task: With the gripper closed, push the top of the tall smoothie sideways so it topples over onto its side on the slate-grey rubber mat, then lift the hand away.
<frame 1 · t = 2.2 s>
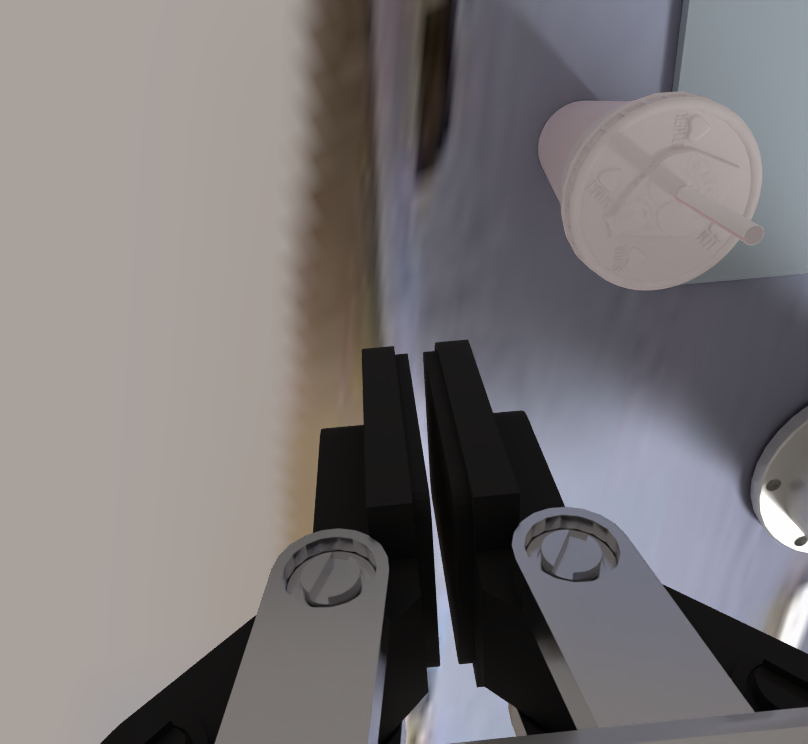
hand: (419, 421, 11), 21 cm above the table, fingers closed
smoothie: (577, 143, 30), on the table
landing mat: (807, 126, 30), on the table
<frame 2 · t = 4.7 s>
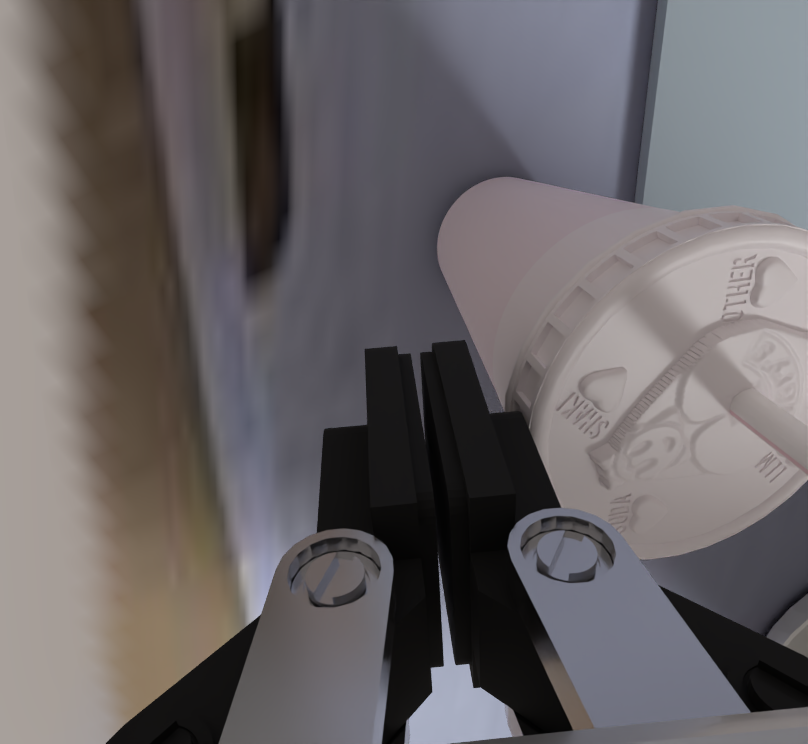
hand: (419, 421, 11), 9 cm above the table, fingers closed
smoothie: (496, 240, 19), on the table, touching gripper
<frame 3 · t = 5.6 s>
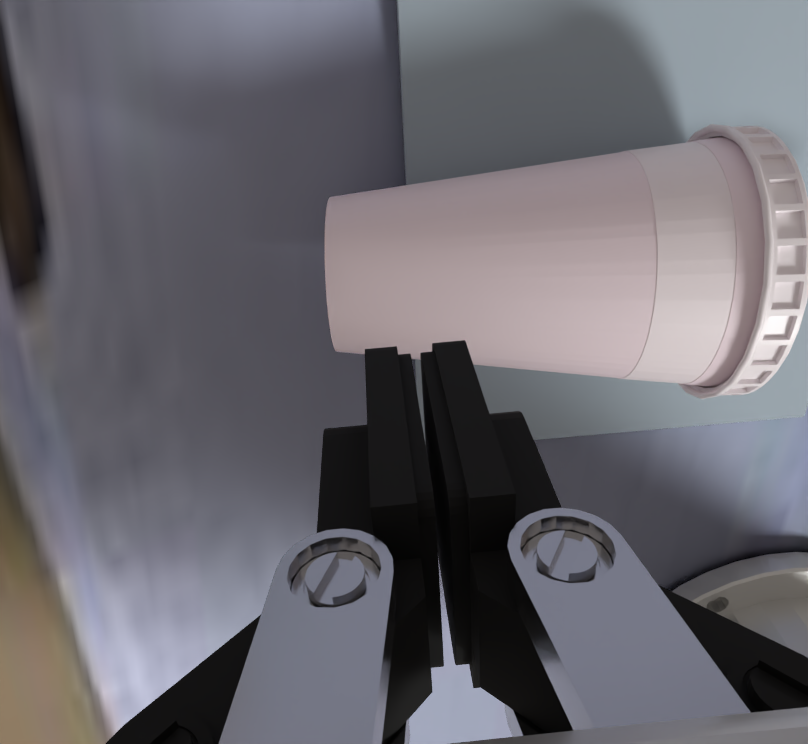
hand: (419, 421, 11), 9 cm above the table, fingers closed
smoothie: (326, 276, 16), point 3 cm above the table, touching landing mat
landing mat: (632, 222, 19), on the table
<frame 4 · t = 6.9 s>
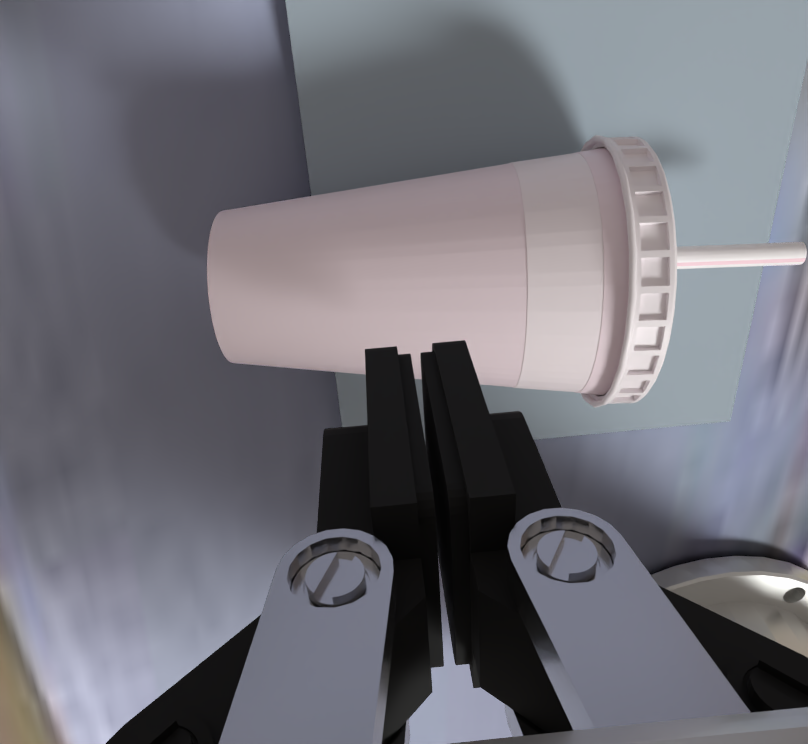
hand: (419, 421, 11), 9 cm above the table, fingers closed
smoothie: (222, 288, 16), point 3 cm above the table, touching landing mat
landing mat: (543, 230, 19), on the table
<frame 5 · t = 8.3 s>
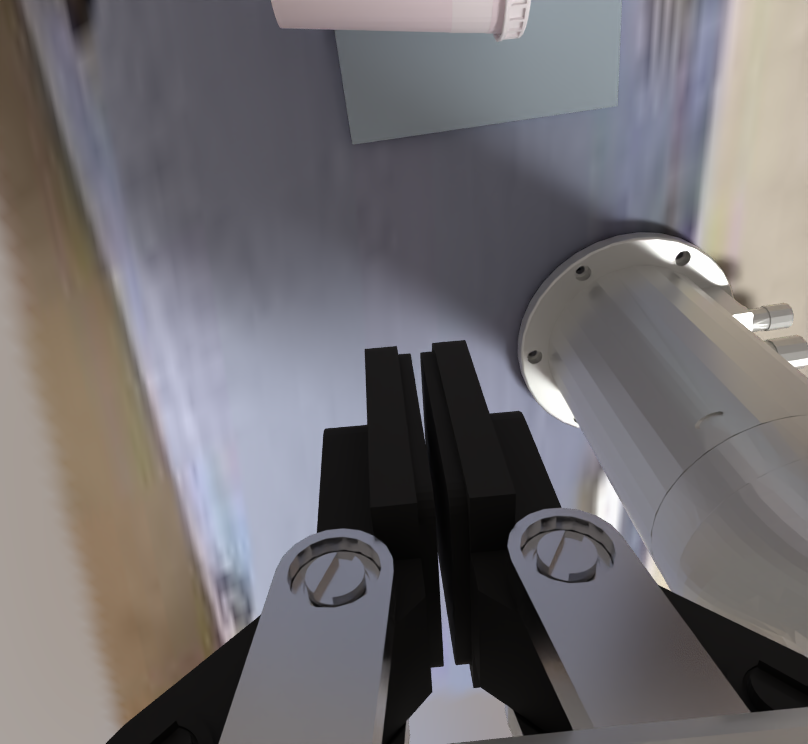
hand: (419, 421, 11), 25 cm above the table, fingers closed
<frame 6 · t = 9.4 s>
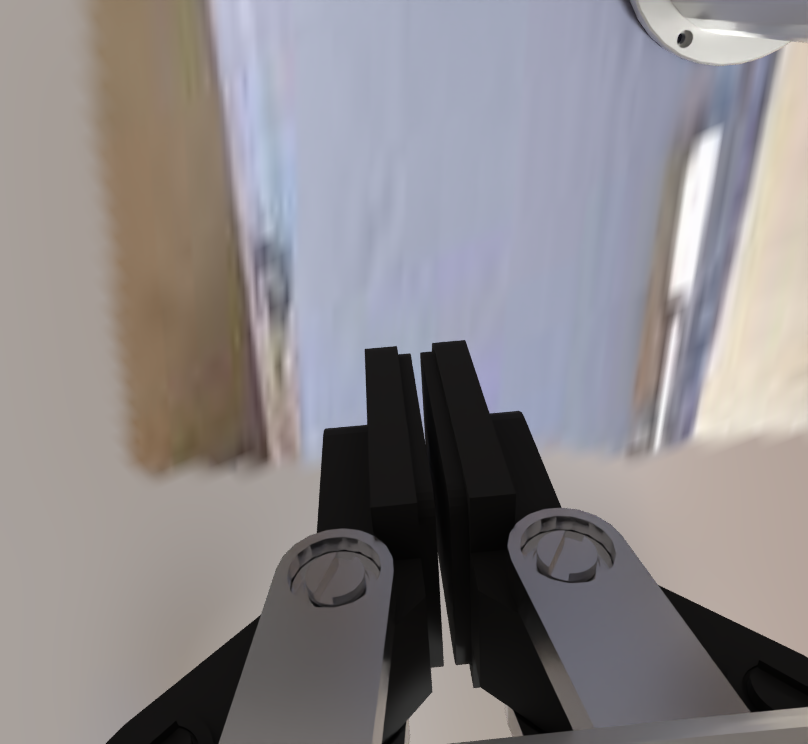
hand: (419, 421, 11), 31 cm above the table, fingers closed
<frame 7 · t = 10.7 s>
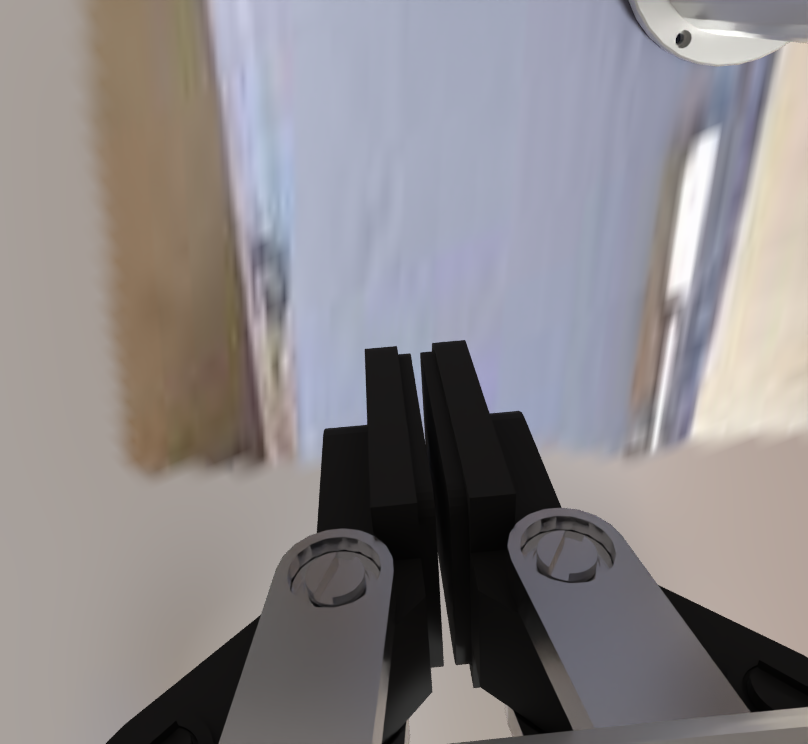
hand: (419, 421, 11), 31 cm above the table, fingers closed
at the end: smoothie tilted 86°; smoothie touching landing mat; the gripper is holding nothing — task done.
